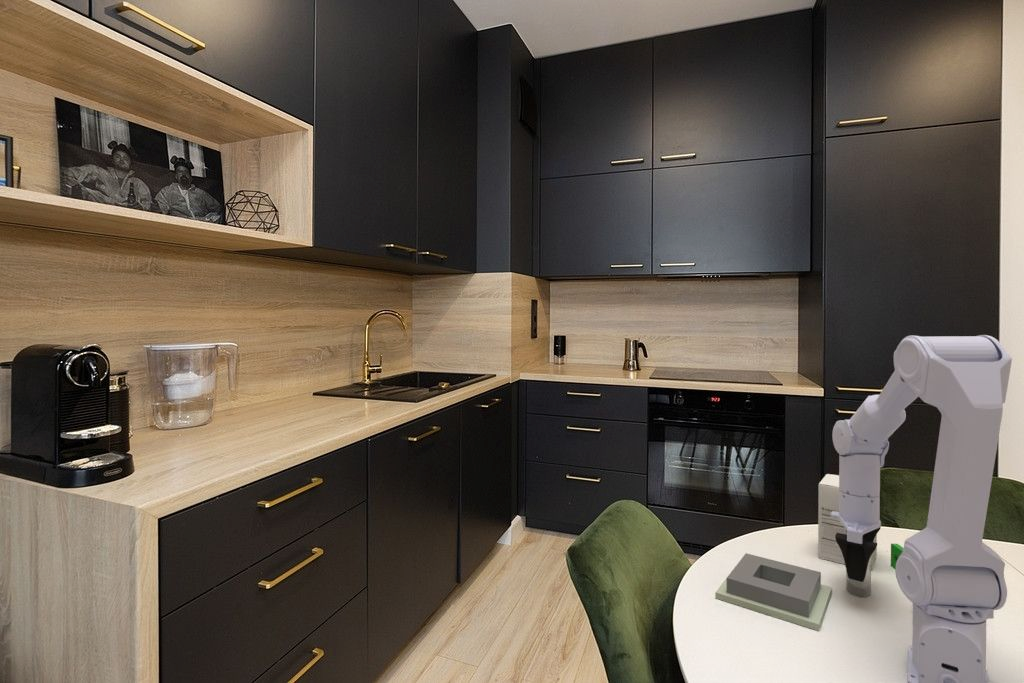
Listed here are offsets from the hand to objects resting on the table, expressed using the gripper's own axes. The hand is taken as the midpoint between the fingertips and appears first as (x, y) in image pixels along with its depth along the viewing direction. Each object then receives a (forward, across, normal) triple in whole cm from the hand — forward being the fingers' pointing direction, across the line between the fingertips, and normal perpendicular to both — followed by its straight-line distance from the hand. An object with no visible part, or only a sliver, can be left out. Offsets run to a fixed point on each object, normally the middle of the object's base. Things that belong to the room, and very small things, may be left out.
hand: (858, 570), depth 86 cm
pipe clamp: (+4, -12, +8) cm, 15 cm away
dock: (+4, +10, -11) cm, 15 cm away
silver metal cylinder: (+4, 0, 0) cm, 4 cm away
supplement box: (+4, -15, -3) cm, 16 cm away
